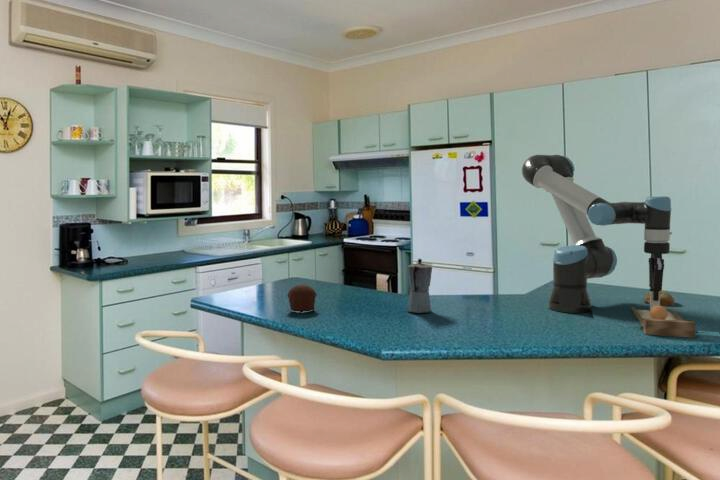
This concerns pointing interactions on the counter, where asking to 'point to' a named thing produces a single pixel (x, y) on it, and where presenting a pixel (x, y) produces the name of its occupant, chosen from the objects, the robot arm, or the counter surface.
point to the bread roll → (662, 299)
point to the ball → (658, 312)
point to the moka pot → (419, 287)
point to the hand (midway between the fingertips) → (654, 309)
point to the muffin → (302, 298)
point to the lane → (665, 324)
